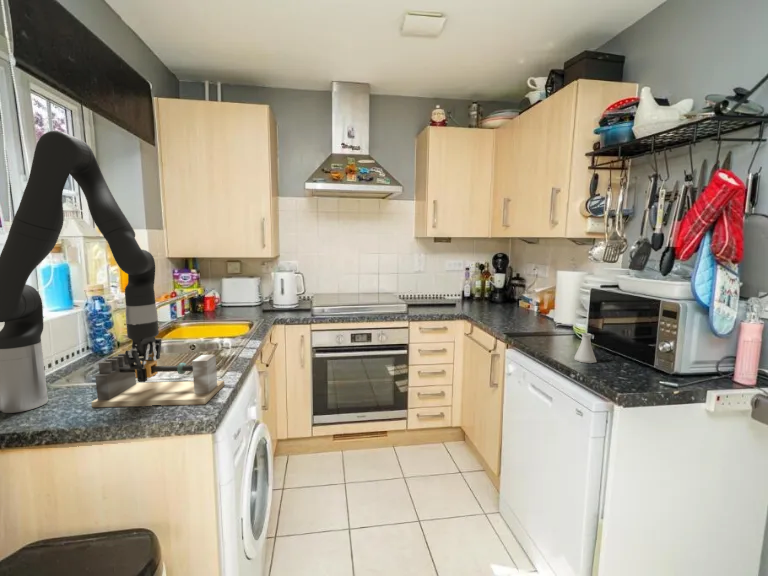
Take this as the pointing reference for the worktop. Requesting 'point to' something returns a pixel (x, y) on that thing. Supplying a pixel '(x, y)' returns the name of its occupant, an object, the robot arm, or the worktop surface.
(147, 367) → the sleeve
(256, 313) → the worktop surface
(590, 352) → the flask
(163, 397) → the cord board
